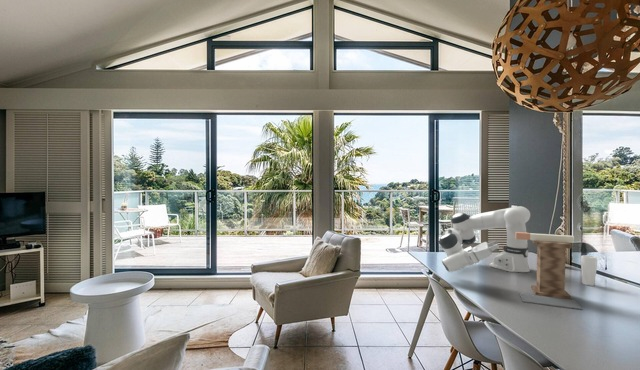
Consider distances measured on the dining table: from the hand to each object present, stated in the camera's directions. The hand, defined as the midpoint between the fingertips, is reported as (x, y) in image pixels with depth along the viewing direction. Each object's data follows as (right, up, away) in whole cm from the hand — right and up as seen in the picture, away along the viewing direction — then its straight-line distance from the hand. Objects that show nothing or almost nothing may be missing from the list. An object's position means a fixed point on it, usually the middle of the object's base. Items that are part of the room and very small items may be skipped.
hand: (497, 243), depth 172 cm
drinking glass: (+51, -23, +6) cm, 57 cm away
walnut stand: (+21, -23, -9) cm, 32 cm away
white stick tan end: (+17, +3, -7) cm, 19 cm away
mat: (+13, -23, -19) cm, 33 cm away
